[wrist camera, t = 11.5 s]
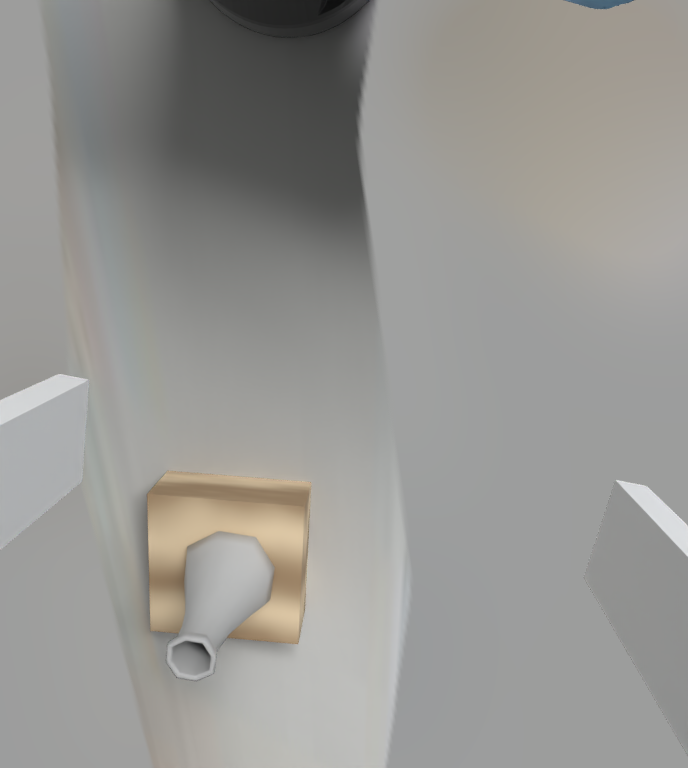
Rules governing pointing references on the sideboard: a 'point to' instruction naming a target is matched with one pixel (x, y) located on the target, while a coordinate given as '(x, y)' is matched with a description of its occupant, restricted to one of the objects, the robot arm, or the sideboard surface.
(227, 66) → the sideboard surface
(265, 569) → the flask
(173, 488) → the oak block
